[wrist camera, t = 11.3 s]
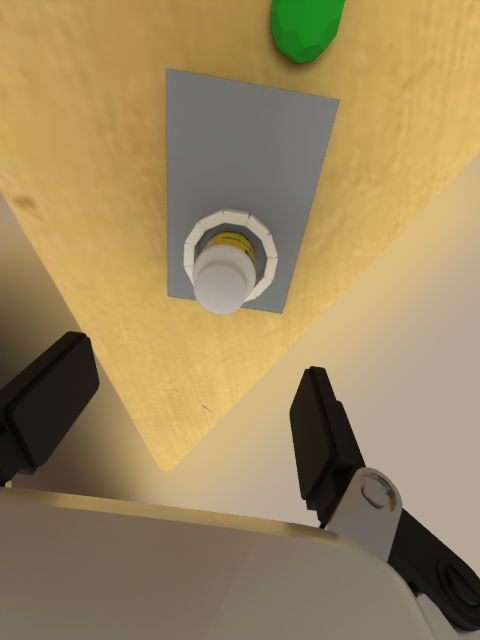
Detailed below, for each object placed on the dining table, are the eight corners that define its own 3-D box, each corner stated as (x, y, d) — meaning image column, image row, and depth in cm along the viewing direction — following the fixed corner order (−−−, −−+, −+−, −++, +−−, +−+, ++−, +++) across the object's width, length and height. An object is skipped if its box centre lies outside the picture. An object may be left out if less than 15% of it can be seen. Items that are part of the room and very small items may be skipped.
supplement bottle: (266, 254, 26) (271, 292, 18) (232, 287, 29) (223, 335, 20) (228, 217, 25) (215, 239, 16) (195, 255, 27) (168, 293, 19)
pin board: (171, 74, 21) (157, 58, 18) (334, 104, 21) (348, 92, 18) (171, 291, 31) (162, 303, 28) (281, 308, 31) (283, 322, 28)
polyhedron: (257, 48, 20) (258, 16, 16) (291, -41, 17) (302, -108, 13) (309, 85, 21) (323, 64, 17) (348, 5, 18) (375, -43, 14)
